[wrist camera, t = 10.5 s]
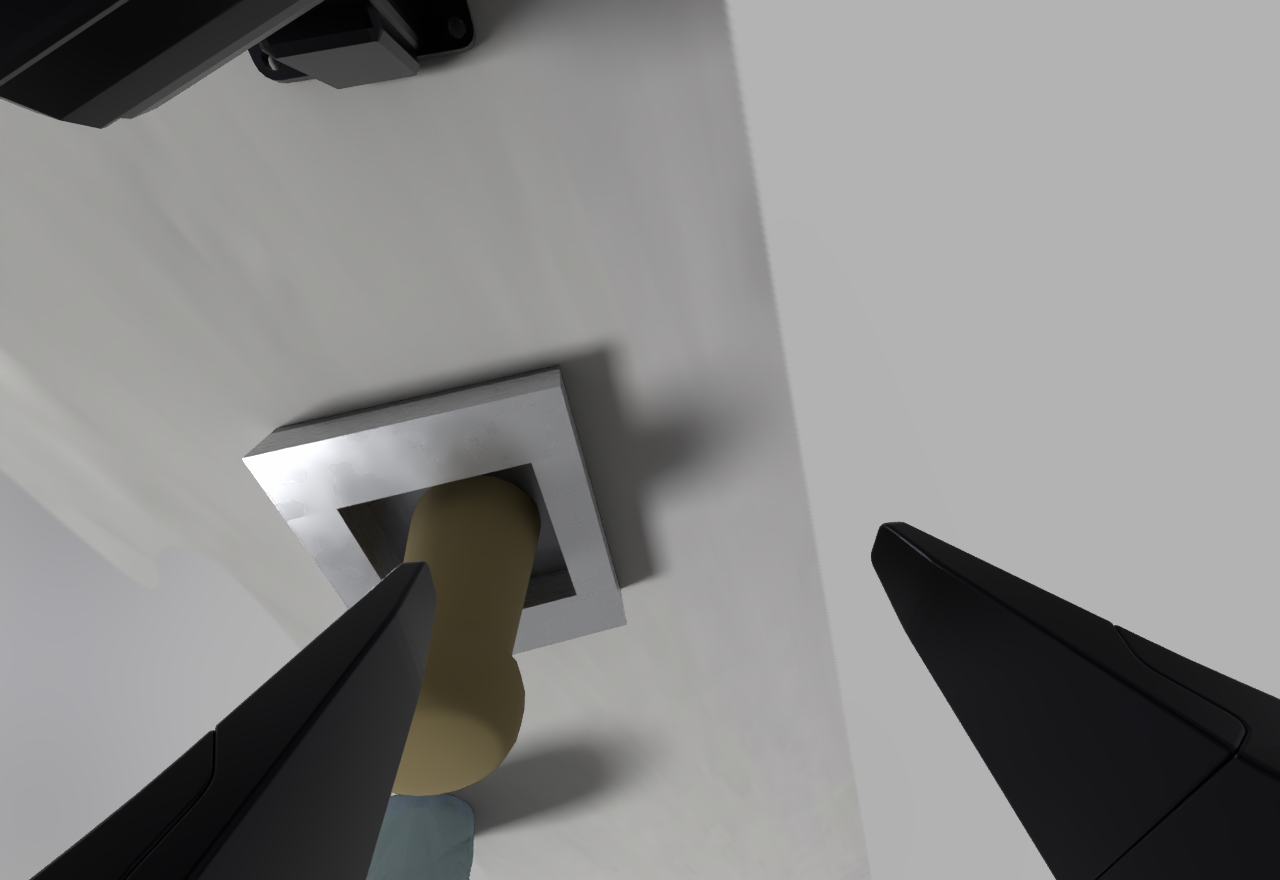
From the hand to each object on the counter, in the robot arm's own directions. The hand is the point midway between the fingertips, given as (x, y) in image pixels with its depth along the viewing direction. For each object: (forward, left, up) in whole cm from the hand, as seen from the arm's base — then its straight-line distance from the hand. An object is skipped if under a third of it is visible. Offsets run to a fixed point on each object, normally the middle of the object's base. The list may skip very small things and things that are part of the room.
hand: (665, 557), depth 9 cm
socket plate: (+7, -8, -13) cm, 17 cm away
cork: (+7, -8, -13) cm, 16 cm away
